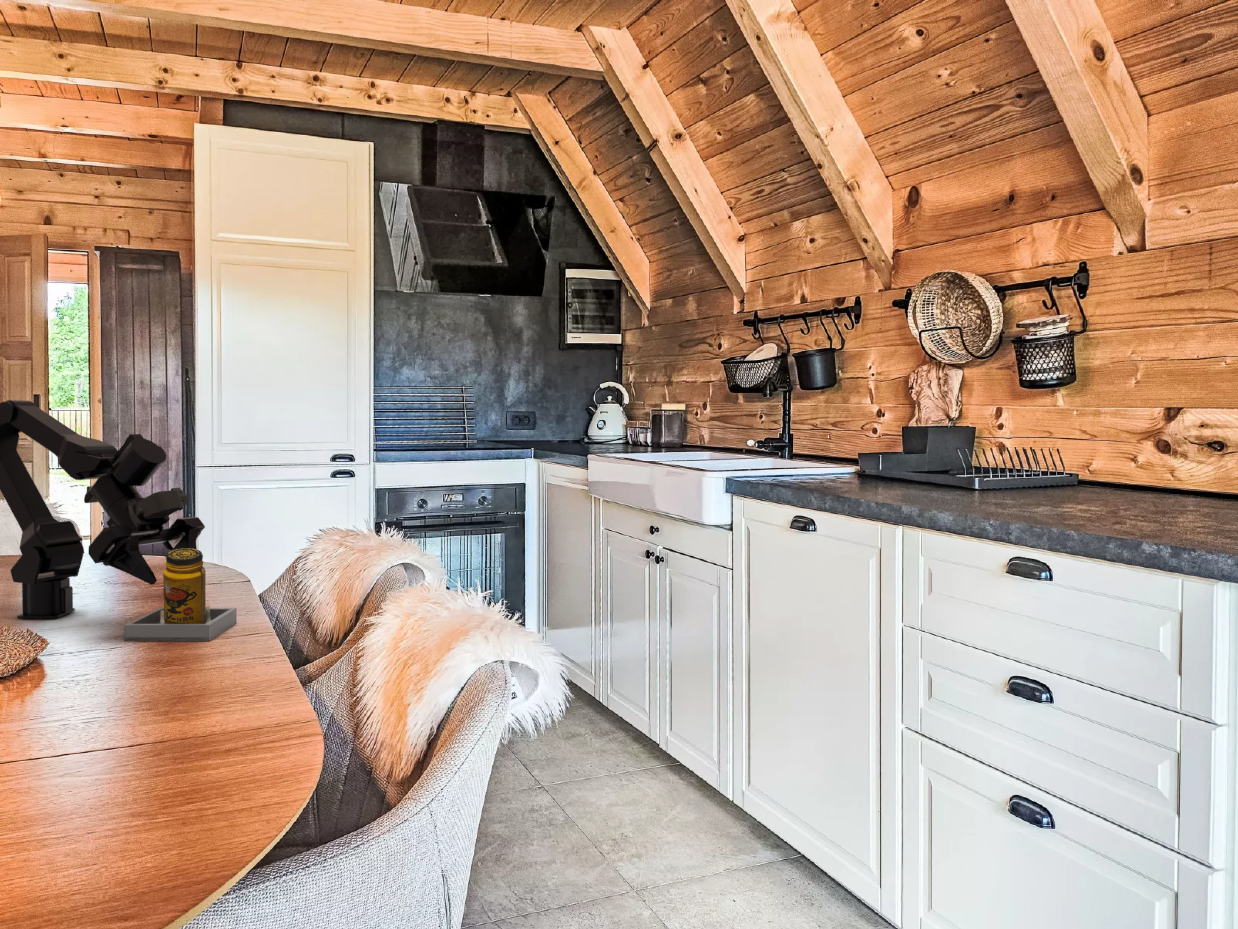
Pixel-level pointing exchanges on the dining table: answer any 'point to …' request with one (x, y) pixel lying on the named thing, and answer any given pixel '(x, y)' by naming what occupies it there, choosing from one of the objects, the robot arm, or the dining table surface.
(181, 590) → the condiment
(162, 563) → the dining table surface
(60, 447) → the robot arm
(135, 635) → the tray
